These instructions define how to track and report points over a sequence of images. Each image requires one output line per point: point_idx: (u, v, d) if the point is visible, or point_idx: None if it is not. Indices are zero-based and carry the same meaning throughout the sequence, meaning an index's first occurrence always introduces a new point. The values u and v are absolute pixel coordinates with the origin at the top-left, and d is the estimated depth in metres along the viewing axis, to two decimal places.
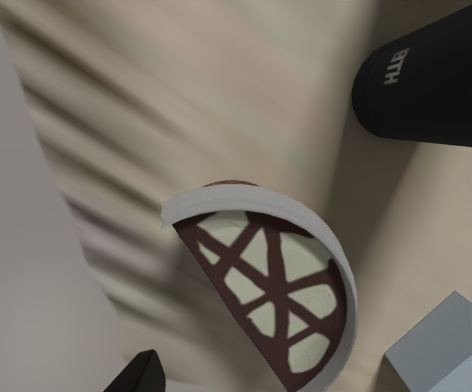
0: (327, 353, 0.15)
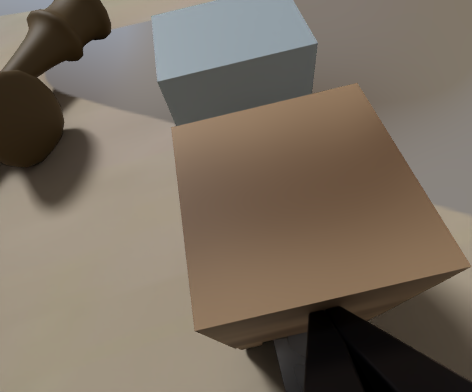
0: None
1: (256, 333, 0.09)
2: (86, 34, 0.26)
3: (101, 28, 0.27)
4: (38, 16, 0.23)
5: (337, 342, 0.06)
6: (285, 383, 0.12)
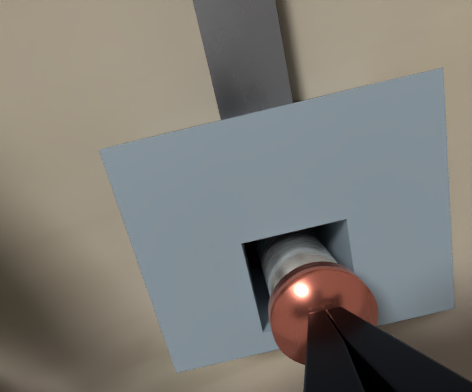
0: None
1: None
2: None
3: None
4: None
5: (337, 342, 0.06)
6: None
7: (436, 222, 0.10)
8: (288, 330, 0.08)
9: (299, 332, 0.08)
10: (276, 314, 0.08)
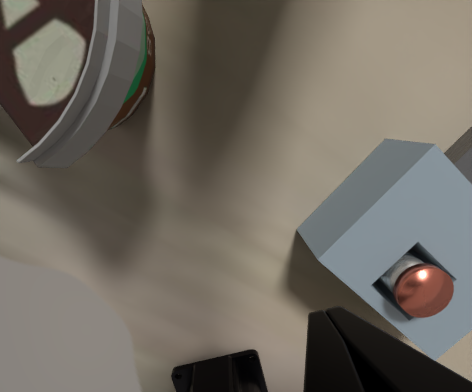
0: (85, 66, 0.09)
1: None
2: None
3: None
4: None
5: (337, 342, 0.06)
6: None
7: None
8: (414, 282, 0.15)
9: (416, 287, 0.15)
10: (420, 272, 0.15)
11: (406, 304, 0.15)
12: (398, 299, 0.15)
